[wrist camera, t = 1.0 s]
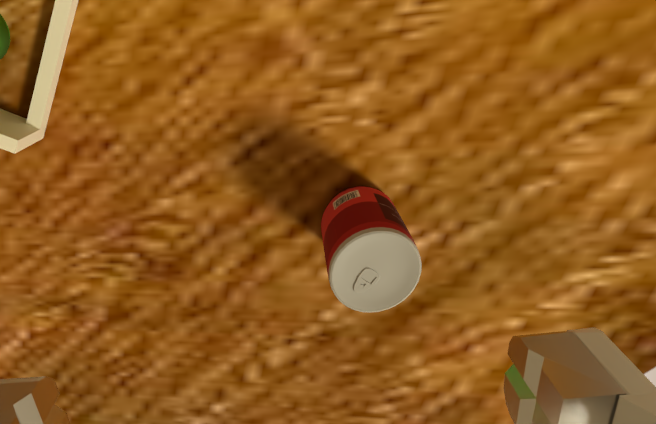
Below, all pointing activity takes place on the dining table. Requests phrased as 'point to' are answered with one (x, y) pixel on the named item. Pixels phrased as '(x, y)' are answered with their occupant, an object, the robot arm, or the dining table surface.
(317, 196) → the dining table surface
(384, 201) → the canned food
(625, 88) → the dining table surface
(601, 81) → the dining table surface
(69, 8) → the frame
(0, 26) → the cup
